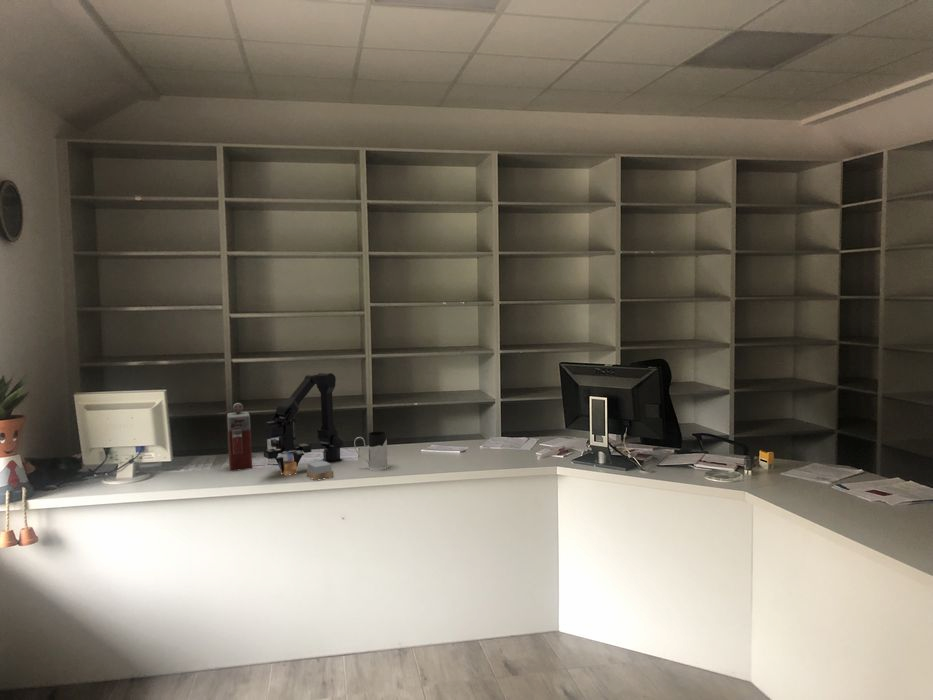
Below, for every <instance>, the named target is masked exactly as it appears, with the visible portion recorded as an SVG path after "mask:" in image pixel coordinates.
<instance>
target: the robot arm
mask: <svg viewBox="0 0 933 700" xmlns="http://www.w3.org/2000/svg"><path fill="white" fill-rule="evenodd" d="M336 381H337V378H336V375H335V374H334V373H332V372H319V373H318V374H306V375H305V377H304V379H303V381H301V383H300V384H299V385H298V387H297V388H295V390H294V391H293V393H292V394H291V395H290V396H289V398H287V399H285V400H283V401H282V402H281V403H280V404H278V405H277V407H276V409H275V413H274V414H273V417H272V418H271V421H266V422H265V425H264V426H263V428H262V435H263V438H265V439H266V440H267V439H271V438H276V437H279V440H278V441H277V440H276V439H272V440H271V447H276V449H281V450H275V449H268V448H267V449H265V450H264V452H263V457H264V458H265V459H267V460H268V459H273V458H274V459H276V461H277V463H278V466H279V470H281V471H280V473H281V472H282V473H283V471H284V463H283V457H282V456H281V454H286V453H293V461H295V462H296V465H297V467H298V465H299V462H300V460H301V459H302V457H303V456H305V454H307V453H312V446H311V445H310V444H307V443H300V444H297V446H296V445H295V444H296V442H295V441H296V439H297V438H296V436H295V424H296V423H299V420H298V419H297V418H295V417H296V415H297V413H298V411H299V410H300V409H299V408H300V404H301V403H302V402H303V400H304V399H305V398H306V396H307V395H308V394H309V393H310V391H311V390H312V389H313V387H314V386H315V385H316V387H317V389H318V391H319V393H320V405H321V407H320V408H321V426H320V428H319V429H317V439H318V442H320V445H321V446H320V447H324V449H323V452H322V453H323V454H322V455H323V458H322V461H325V462H327V463H335V462H339V461H342V460H343V458H341V448H343V446H344V441H342V439H341V438H340V437H339V433H338V429H337V428H336V426H335V424H334V407H333V392H334V389H335V387H336ZM290 450H291V451H290ZM284 451H286V452H284Z"/></svg>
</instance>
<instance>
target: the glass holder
mask: <svg viewBox="0 0 933 700" xmlns="http://www.w3.org/2000/svg"><path fill="white" fill-rule="evenodd" d="M367 435H368V445H366V441H365V439H364V437H362V436H358V437H356V438H355V439H354V442H353V444H354V449H355V452H356V453H357V455H358V456H359V457H361V458H362V459H363V460H365V461H366V462H367V464H368V467H367V469H368V468H369V469H372V470H371V471H374V470H378V471H382V470H381V469H385V468H388V469H389V465H388V441H387V432H386V431H372V432H371V431H370V432H369V433H367ZM357 439H362V441H363V445H364V447H366V448H368V459H366V458H365V457H364V456H363V455H361V454H360V453H359V452H358V449H357V447H356V441H357ZM369 469H368V470H369ZM385 470H386V469H385Z"/></svg>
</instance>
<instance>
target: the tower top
mask: <svg viewBox="0 0 933 700" xmlns="http://www.w3.org/2000/svg"><path fill="white" fill-rule="evenodd" d="M307 470H308V471H309V472H311V473H314V474H321V473H326V472H331V471H333V470H332V464H331V462H327V461H324V460H321V461H316V462H310V463H307Z"/></svg>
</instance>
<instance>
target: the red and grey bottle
mask: <svg viewBox="0 0 933 700" xmlns="http://www.w3.org/2000/svg"><path fill="white" fill-rule="evenodd" d="M232 411H233V412H228V413H227V414H226V422H227V441H228V442H227V443H228V444H227V446H228V463H229V465H228V466H229V469H230V471H231V470H232V471H238V469H241V470H246V469H245V468H250V469H253V458H252V457H253V456H252V455H253V453H252V429H251V416H250V413H249V412H248V411H244V405H243V404H242V403H241V402H236V403H234V404H233V406H232Z"/></svg>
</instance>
